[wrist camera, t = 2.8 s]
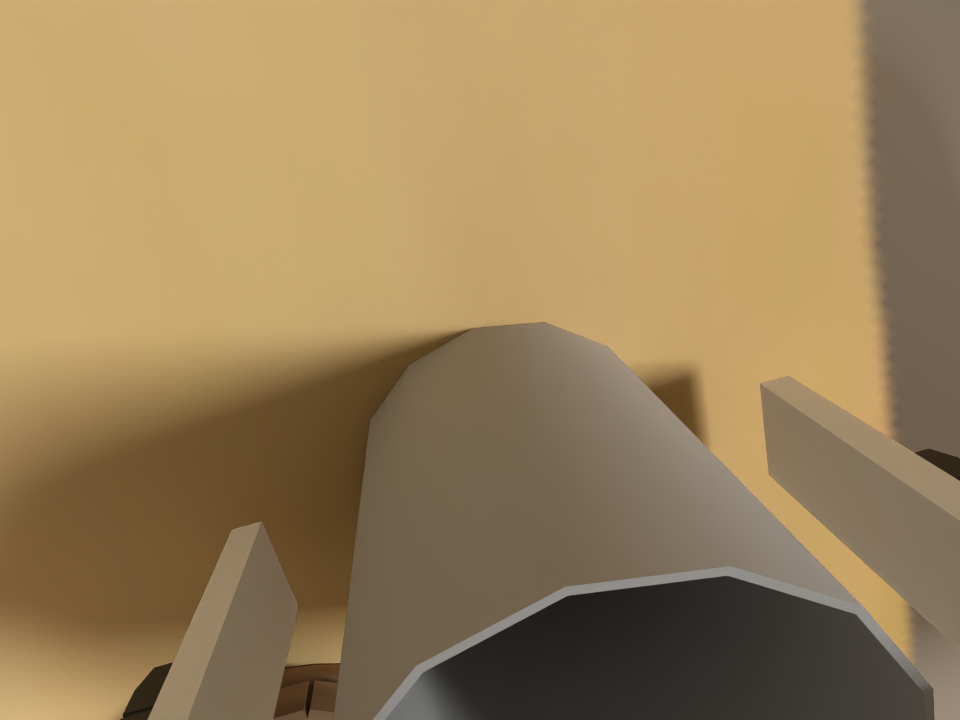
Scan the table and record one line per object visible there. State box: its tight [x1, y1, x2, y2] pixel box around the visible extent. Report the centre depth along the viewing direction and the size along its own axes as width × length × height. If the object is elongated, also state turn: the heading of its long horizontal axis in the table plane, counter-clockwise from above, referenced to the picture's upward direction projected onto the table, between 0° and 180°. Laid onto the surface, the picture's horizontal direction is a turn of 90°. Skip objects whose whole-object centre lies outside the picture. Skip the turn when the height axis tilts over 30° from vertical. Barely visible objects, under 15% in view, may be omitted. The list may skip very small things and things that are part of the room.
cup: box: [334, 322, 934, 720], centre depth 13 cm, size 8×8×10 cm
